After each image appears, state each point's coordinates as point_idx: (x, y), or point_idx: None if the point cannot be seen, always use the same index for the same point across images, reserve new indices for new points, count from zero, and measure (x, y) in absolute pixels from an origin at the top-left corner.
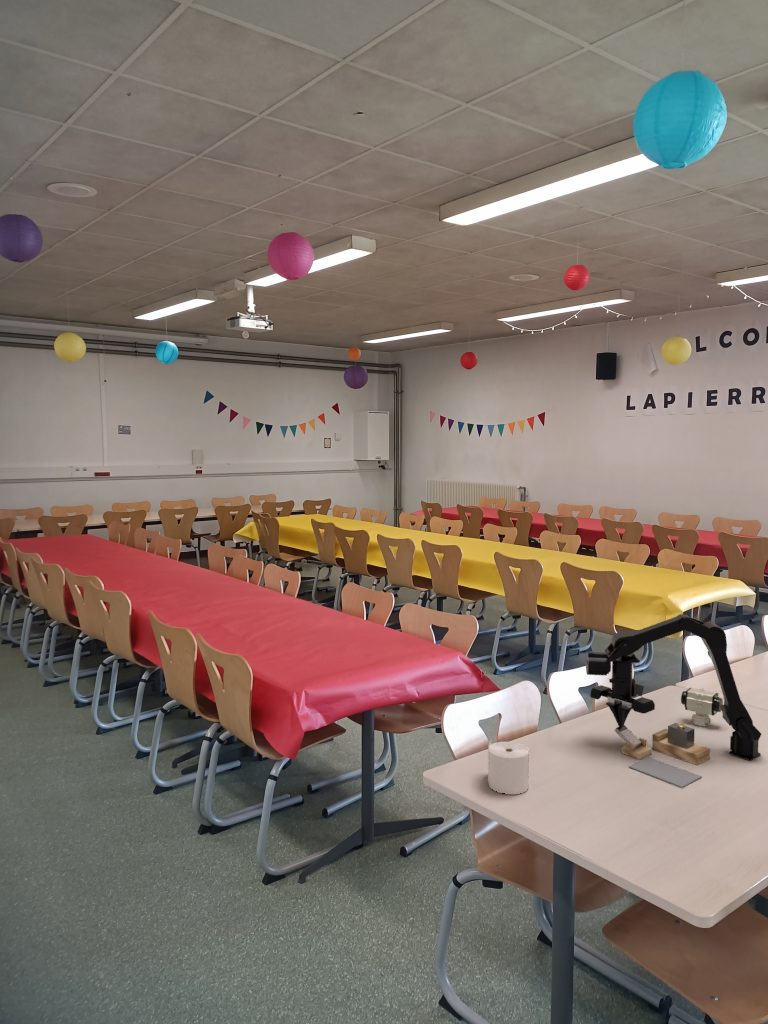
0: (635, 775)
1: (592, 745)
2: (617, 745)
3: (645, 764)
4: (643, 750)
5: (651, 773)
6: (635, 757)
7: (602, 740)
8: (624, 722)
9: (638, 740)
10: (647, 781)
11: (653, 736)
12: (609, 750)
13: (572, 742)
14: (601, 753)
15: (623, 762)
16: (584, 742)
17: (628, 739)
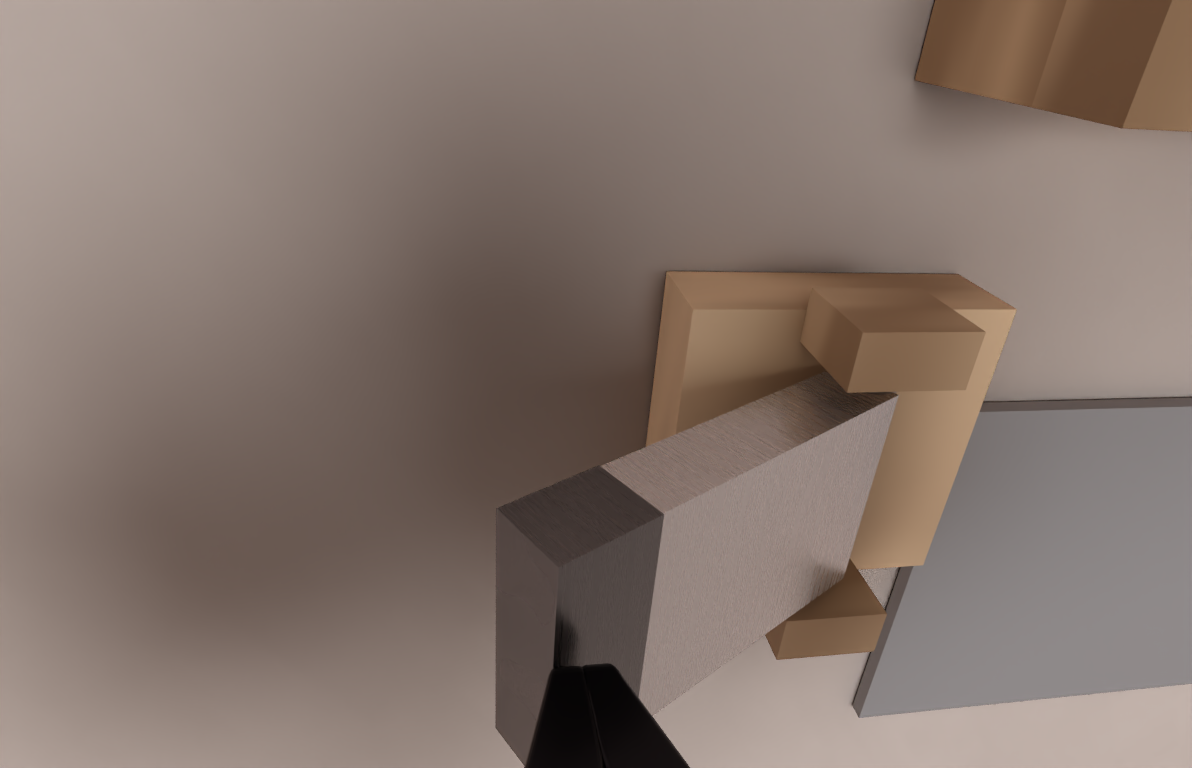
0: (948, 752)
1: (234, 617)
2: (445, 374)
3: (984, 588)
4: (932, 459)
5: (1073, 676)
6: None
7: (157, 394)
8: (674, 762)
9: (863, 436)
10: (1055, 753)
11: (1108, 120)
12: (484, 572)
13: (8, 727)
14: (477, 684)
15: (766, 668)
16: (87, 628)
17: (769, 620)
